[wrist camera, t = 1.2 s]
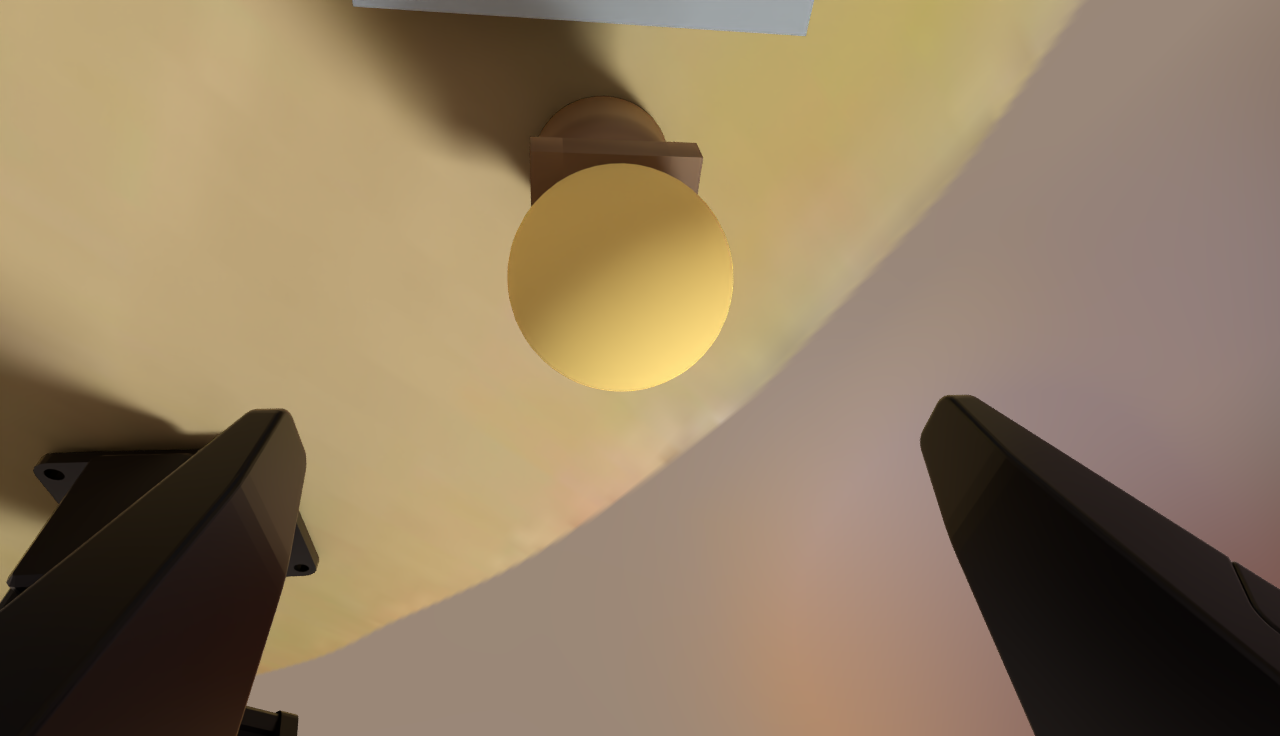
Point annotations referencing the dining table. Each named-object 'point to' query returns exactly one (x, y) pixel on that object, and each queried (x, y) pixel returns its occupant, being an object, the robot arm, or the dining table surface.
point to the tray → (634, 12)
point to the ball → (620, 277)
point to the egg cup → (606, 144)
